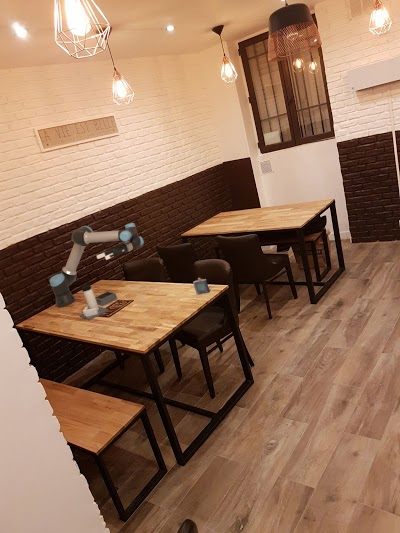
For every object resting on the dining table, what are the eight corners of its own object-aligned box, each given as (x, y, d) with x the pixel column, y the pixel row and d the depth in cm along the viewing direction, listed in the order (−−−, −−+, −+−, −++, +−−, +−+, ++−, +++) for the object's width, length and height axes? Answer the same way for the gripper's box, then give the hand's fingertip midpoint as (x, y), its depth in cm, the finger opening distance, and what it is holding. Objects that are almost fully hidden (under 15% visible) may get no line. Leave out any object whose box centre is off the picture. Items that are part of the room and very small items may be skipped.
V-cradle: (79, 316, 286) (77, 310, 284) (98, 307, 294) (95, 301, 293) (89, 320, 273) (86, 313, 272) (108, 310, 282) (106, 303, 281)
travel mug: (100, 308, 287) (91, 282, 282) (97, 312, 281) (88, 285, 275) (92, 310, 288) (83, 284, 283) (89, 314, 282) (79, 287, 277)
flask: (196, 295, 265) (191, 279, 262) (197, 293, 268) (192, 278, 265) (209, 292, 263) (205, 277, 260) (210, 291, 265) (206, 276, 262)
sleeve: (95, 304, 304) (93, 298, 302) (109, 297, 311) (107, 291, 309) (103, 306, 294) (100, 300, 293) (117, 298, 301) (115, 292, 300)
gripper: (135, 252, 302) (110, 263, 289) (118, 251, 321) (95, 261, 309) (132, 243, 299) (107, 253, 287) (115, 242, 319) (92, 252, 306)
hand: (101, 257), depth 298 cm, fingers open, 13 cm apart
